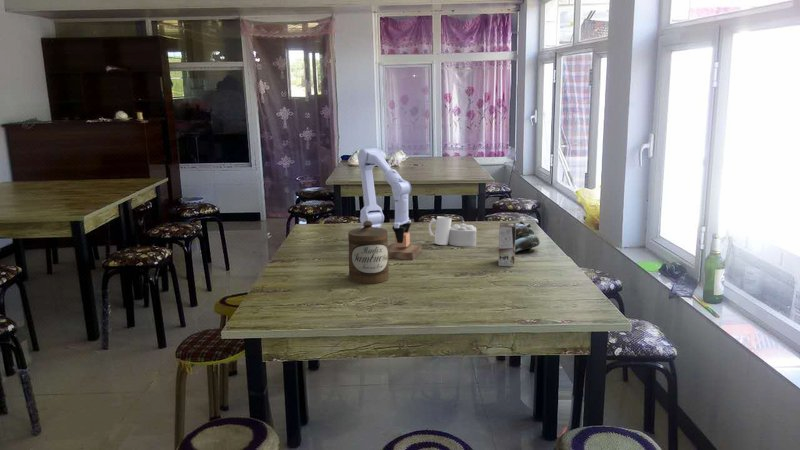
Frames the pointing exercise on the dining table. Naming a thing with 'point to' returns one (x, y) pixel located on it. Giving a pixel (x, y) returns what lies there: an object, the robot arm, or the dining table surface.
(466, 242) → the lumpy-topped squat cylinder
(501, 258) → the coffee box
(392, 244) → the walnut base
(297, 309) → the dining table surface
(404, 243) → the terracotta cube
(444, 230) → the mug
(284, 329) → the dining table surface
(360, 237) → the wooden container
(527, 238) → the lucky cat figurine
